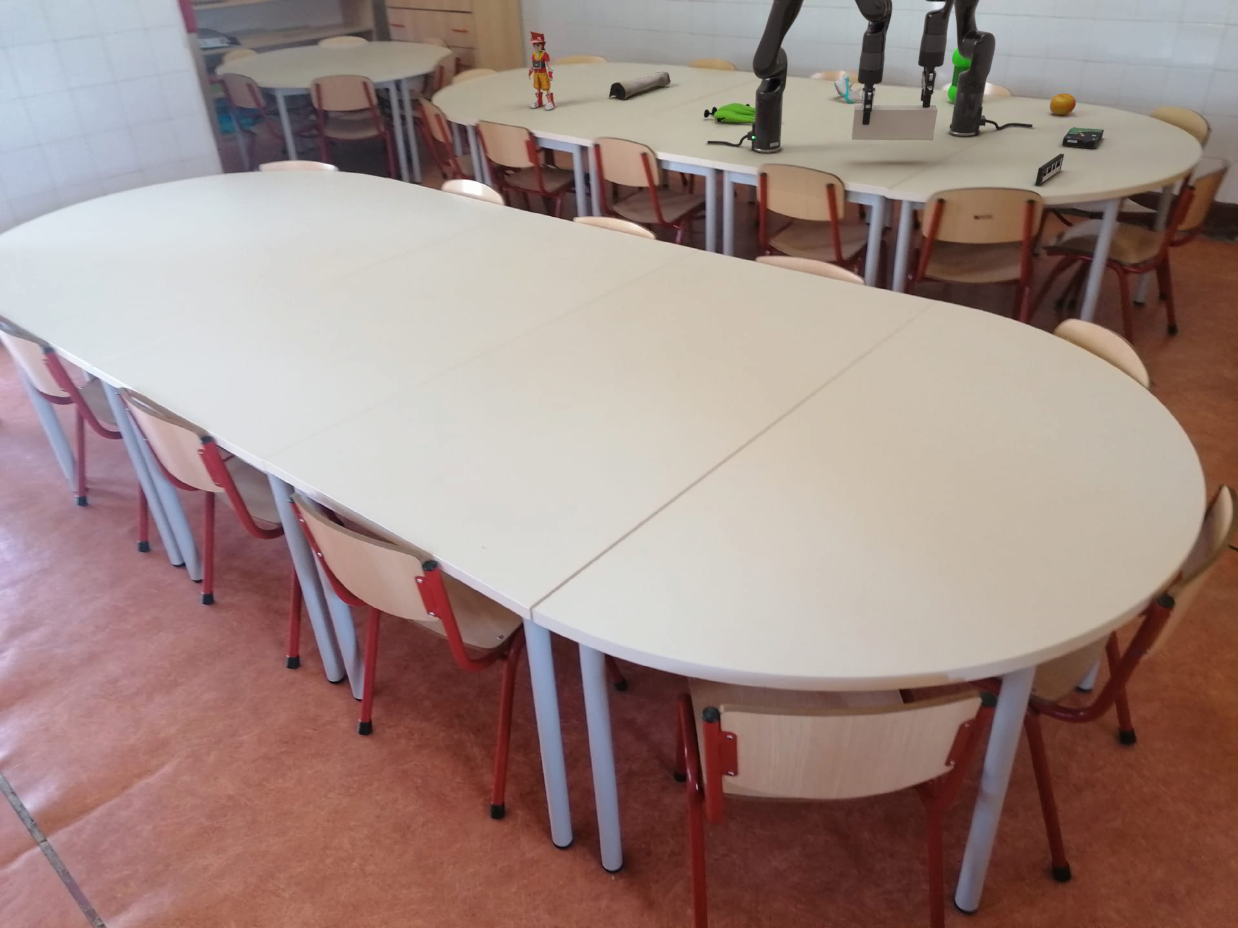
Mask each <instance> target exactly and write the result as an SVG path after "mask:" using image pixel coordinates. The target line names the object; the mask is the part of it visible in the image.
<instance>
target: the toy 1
mask: <svg viewBox="0 0 1238 928" xmlns="http://www.w3.org/2000/svg"><path fill="white" fill-rule="evenodd" d="M529 33H530V35H531V36H528V37H527V38H528V39H529V40H528V41H527V43H529V44H530V43H531V44H532V48H533V50H534V51H533V52H532V55H531V58H530V59H531V63H530V66H528V74H527V75H528V76H527V77H528V79H529V80H531V75H532V74H533V84H532V85H533V86H532V87H533V88H534V89H535V90H536V92H534V95H535V97H536V100H535V101H533V102H531V105H530V108H531V109H535V108H538V107H542V106H544V101H543V100H544V99H543V95H544V92H546V94H545V97H546V99H547V103H546V104H545V106H544V110H546V111H549V110H553V109H554V107H555V106H556V105H555V99H554V92H551V91H550V90H551V86H552V84H551V82H552V81H553V80H554V77H553V73H554V71H555V70H554V69H552V68H551V63H550V61H551V59H550V58H551V57H550V54H549V53H548V52H547V50H546V48H545V46H546V44H547V41H545V35H544V33H543V32H542V33H539V32H535V31H529Z"/></svg>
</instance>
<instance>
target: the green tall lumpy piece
mask: <svg viewBox="0 0 1238 928" xmlns="http://www.w3.org/2000/svg"><path fill="white" fill-rule="evenodd" d="M951 61H952V65H953V71H952V80H951V84H950V86H949V88H948V90H947V97H948V99H949V100H950V101H951V103H953V104H954V103H955V96H956V90H957V83H958V77H959V74H960V73H961V72H963V71H967V70H968V69H969V68H970V64H971V60H967V59H964V58H962V57H961V56H960V54H959V52H958V47H956V48H955V49H954V51H953V52H952V57H951Z"/></svg>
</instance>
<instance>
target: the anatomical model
mask: <svg viewBox="0 0 1238 928" xmlns="http://www.w3.org/2000/svg"><path fill="white" fill-rule="evenodd" d="M849 82H850V77H849V76H847V75H846V74H842V76H841V78H840V79H836V80H835V81H834V82H833V85H834V88H835V90H836V92H837V94H838V95H839V96H843V98H844V100H845V101H846V103H848V104H852V103H855V102H862V96H860V95H859V94H860V92H861V91H862V88H863V87H859V88H856V89H855V90H852V87H853V86H854V84H855V82H850V83H849Z"/></svg>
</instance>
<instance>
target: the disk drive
mask: <svg viewBox="0 0 1238 928" xmlns="http://www.w3.org/2000/svg"><path fill="white" fill-rule="evenodd" d="M1104 131H1105V130H1104V129H1101V128H1100V129H1098V128H1088V127H1087V128H1085V127H1071V128H1070V129H1069V130H1068V132H1067V133H1066V134H1065V136H1064V137H1063V139H1062V146H1065V147H1066V146H1067V147H1073V148H1074V147H1075V148H1085V149H1095V148H1096V147H1097V146H1098V144H1099V142H1100V141H1101V140H1102V138H1103V136H1104Z"/></svg>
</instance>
